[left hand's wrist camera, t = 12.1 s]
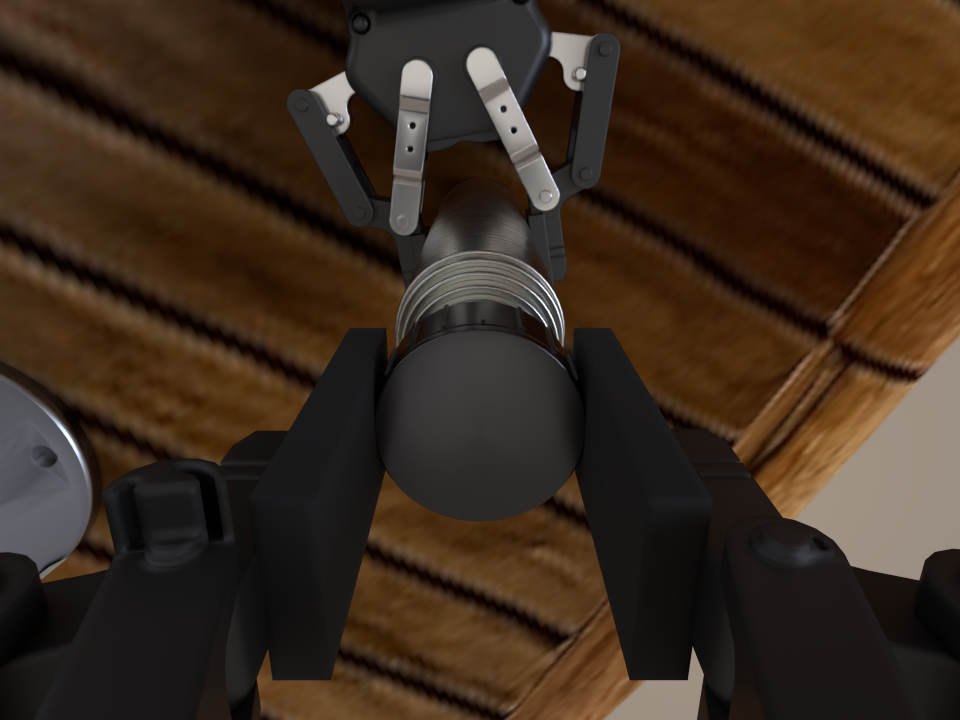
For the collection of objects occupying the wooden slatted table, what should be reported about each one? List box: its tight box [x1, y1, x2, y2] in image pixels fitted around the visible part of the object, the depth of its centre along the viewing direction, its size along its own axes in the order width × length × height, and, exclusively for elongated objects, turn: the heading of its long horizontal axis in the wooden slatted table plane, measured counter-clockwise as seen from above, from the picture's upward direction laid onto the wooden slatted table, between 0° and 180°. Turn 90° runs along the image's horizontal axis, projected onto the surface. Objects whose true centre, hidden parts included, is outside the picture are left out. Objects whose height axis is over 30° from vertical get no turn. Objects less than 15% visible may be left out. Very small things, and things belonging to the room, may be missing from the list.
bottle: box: [395, 177, 565, 348], centre depth 24 cm, size 4×4×24 cm
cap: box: [375, 299, 586, 521], centre depth 13 cm, size 4×4×2 cm
